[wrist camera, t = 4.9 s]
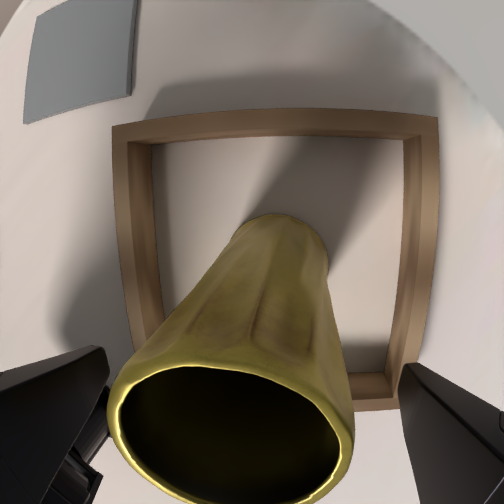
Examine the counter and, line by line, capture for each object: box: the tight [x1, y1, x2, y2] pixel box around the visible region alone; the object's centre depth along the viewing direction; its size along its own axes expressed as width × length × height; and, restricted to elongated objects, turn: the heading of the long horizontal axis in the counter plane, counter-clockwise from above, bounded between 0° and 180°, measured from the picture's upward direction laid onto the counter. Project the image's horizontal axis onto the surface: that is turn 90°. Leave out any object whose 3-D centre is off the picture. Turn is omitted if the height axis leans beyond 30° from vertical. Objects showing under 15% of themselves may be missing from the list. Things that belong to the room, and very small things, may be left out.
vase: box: [107, 214, 355, 504], centre depth 12 cm, size 6×6×14 cm
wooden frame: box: [112, 108, 439, 412], centre depth 18 cm, size 17×17×3 cm
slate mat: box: [23, 0, 138, 124], centre depth 17 cm, size 10×10×1 cm
